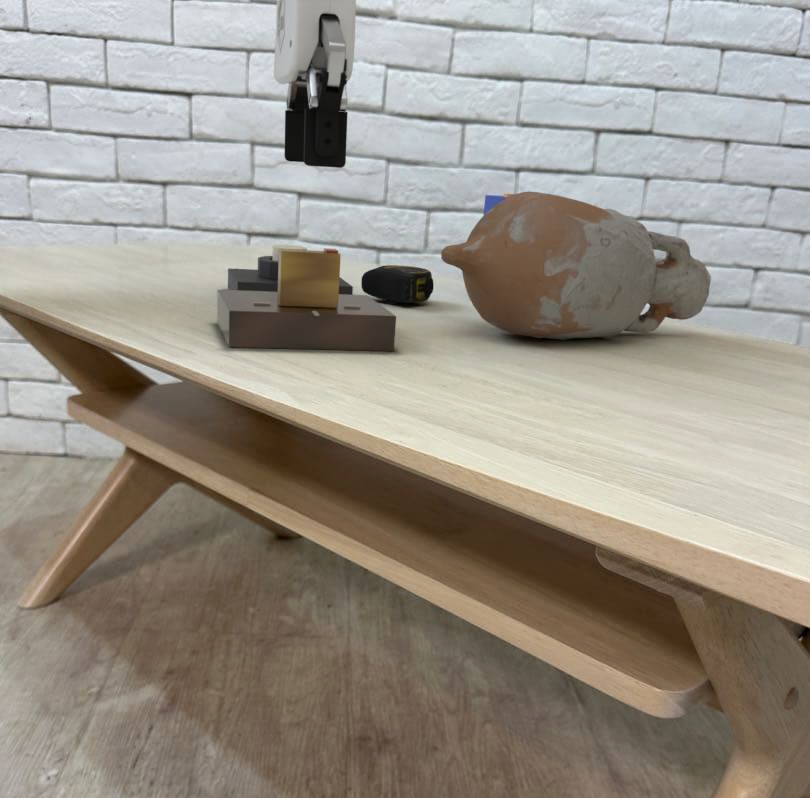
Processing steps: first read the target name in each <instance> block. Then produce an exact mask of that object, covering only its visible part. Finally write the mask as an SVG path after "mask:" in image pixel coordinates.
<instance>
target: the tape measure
mask: <svg viewBox="0 0 810 798" xmlns="http://www.w3.org/2000/svg"><path fill="white" fill-rule="evenodd" d="M432 275H433V274H432V272H431V271H430V270H429V269H427V268H424V267H418V266H410V265H394V264H393V265H390V264H389V265H381V266H378V267H376V268H373V269H370V270H367V271H365V272H364V273H363V275H362V276H361V282H360V283H361V284H360V285H361V289H362V291H363V293H365V295H368V296H371V297H374V298H377V299H380V300H384V301H385V302H386V303H387V304H390V305H394V304H395V305H396V304H397V303H403V304H412V303H423V302H426V301H428V300H429V299H430V297H431V295H432V293H433V292H434V279H433V277H432Z"/></svg>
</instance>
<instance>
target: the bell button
mask: <svg viewBox="0 0 810 798" xmlns="http://www.w3.org/2000/svg"><path fill="white" fill-rule="evenodd" d="M279 249H291V250H308V248H307V247H305V246H301V245H295V244H274V245H272V255H271V256H272V260H274V261H279Z"/></svg>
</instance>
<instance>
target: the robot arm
mask: <svg viewBox="0 0 810 798" xmlns="http://www.w3.org/2000/svg"><path fill="white" fill-rule="evenodd" d="M356 9H357V0H276V13H275V14H276V15H275V38H274V39H275V40H274V59H273V60H274V61H273V78H274V80H275V81H276V82H277V83H278V84H280V85H285V84H288V86H287V95H286V109H285V111H284V156H283V157H284V159H285V161H287V162H295V163H303V164H304V165H306V166H308V167H319V168H335V169H336V168H338V169H341V168H342V169H343V168H344V167H345V166H346V163H347V162H346V161H347V137H348V135H347V134H348V114H349V113H348V111H347V109H348V93H347V84H348V82H349V81H350V79H351V77H352V75H353V67H354V58H355V43H356V42H355V41H356V20H357V19H356V17H357V16H356V15H357V12H356Z"/></svg>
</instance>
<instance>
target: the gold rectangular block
mask: <svg viewBox="0 0 810 798" xmlns="http://www.w3.org/2000/svg"><path fill="white" fill-rule="evenodd" d="M341 257H342V256H341V253H340V252H339V250H338V249H336V248H325V247H324V248H323V250H311V249H309V250H308V249H307V250H291V249H279V262H278V299H277V303H278V304H279V305H280V306H293V307H322V308H338V297H339V277H340V276H341ZM340 278H341V277H340Z"/></svg>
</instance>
